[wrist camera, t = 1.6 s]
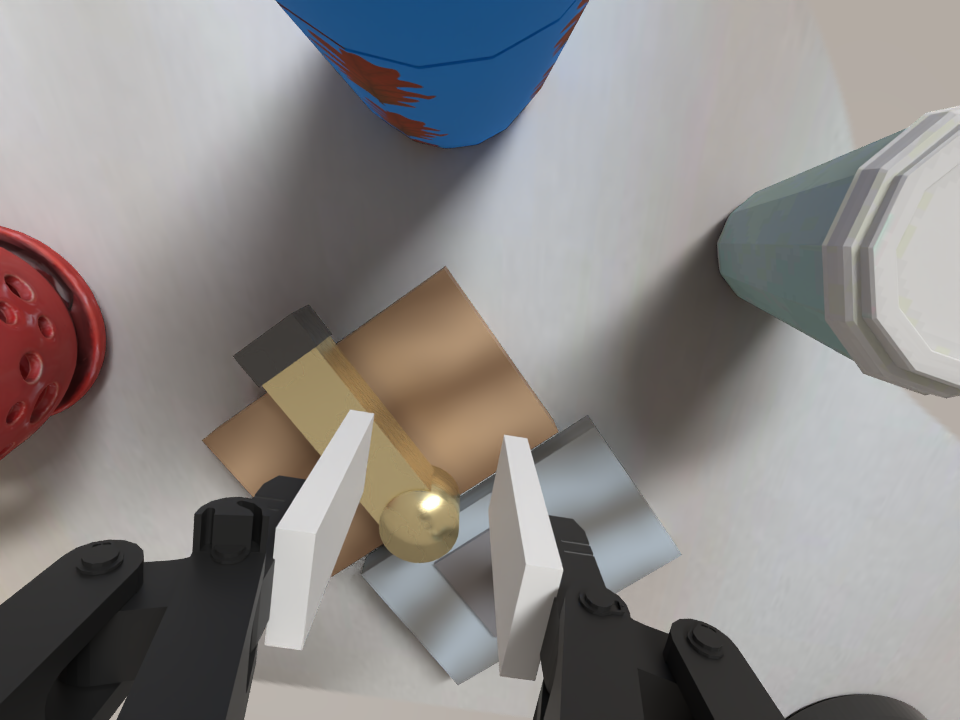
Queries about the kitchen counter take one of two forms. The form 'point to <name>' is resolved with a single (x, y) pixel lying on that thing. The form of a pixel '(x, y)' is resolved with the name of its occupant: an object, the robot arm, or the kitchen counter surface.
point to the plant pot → (43, 337)
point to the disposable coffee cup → (864, 254)
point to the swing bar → (392, 454)
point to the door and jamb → (458, 467)
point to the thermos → (441, 58)
